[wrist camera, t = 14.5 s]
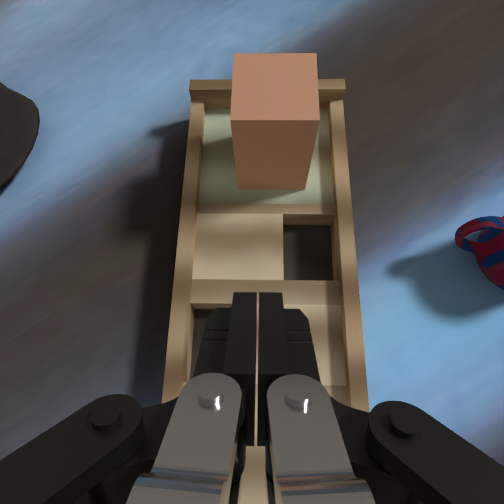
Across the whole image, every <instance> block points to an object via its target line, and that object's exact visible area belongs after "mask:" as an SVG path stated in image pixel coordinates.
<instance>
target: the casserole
mask: <svg viewBox="0 0 504 504" xmlns="http://www.w3.org/2000/svg"><path fill="white" fill-rule="evenodd" d="M39 123H40V119H39V110H38V108H37V107H36V105H35V104H34V102H33V101H32V100H30V99H29V98H27V97H25V96H23V95H21V94H19V93H17V92H15V91H13V90H11V89H8V88H7V87H6V86H5V85H3V84H2V83H1V82H0V187H2V186H3V185H4V184H5V183H6V182H8V181H9V180H10V179H11V178H12V177H13V176H14V175H15V173H16V172H17V171H18V170H19V169H20V168H21V166H22V165H23V164H24V162H25V161H26V159H27V157H28V156H29V154H30V152H31V151H32V149H33V146H34V143H35V141H36V138H37V135H38V129H39Z"/></svg>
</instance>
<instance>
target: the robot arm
mask: <svg viewBox="0 0 504 504" xmlns="http://www.w3.org/2000/svg"><path fill="white" fill-rule="evenodd" d="M256 343H257V292H234V293H233V300H232V307H231V308H215V309H214V310H213V312H212V313H211V314H210V315H209V316H208V317H207V320H206V324H205V328H204V332H203V337H202V341H201V345H200V349H199V354H198V358H197V362H196V366H195V371H194V375H193V378H192V379H191V380H190V381H188V382H187V383H186V384H185V385H184V386H183V388H182V390H181V392H180V394H179V396H178V397H176V398H174V399H173V400H170V401H168V402H165V403H162V404H158V405H154V406H150V407H146V408H142V409H141V406H140V404H139V403H138V401H137V400H136V399H134V398H133V397H130V396H128V395H123V394H113V395H107V396H104V397H101V398H98V399H96V400H94V401H92V402H90V403H89V404H87V405H86V406H84V407H83V408H81V409H79V410H78V411H76V412H75V413H73V414H72V415H70V416H69V417H67V418H65V419H64V420H62V421H61V422H59V423H58V424H56V425H55V426H53V427H52V428H50V429H48V430H47V431H45V432H44V433H42V434H41V435H39V436H38V437H36V438H34V439H33V440H31V441H30V442H28V443H27V444H25V445H24V446H22V447H20V448H19V449H17V450H16V451H14V452H13V453H11V454H10V455H8V456H6V457H5V458H3V459H2V460H0V504H240V497H241V489H242V481H243V471H244V468H245V460H246V446H254V441H255V393H256ZM257 446H265V486H266V498H267V504H504V467H503V466H502V465H501V464H499V463H498V462H496V461H495V460H493V459H492V458H490V457H489V456H488V455H486V454H485V453H483V452H482V451H480V450H479V449H477V448H476V447H475V446H473V445H472V444H470V443H469V442H467V441H466V440H465V439H463V438H462V437H460V436H459V435H457V434H456V433H454V432H453V431H452V430H450V429H449V428H447V427H446V426H444V425H443V424H441V423H440V422H439V421H437V420H436V419H434V418H433V417H431V416H430V415H428V414H427V413H426V412H424V411H423V410H421V409H419V408H418V407H416V406H413V405H411V404H408V403H405V402H401V401H385V402H382V403H379V404H378V405H376V406H375V407H374V408H373V409H372V410H371V412H370V413H369V412H366V411H362V410H359V409H355V408H352V407H349V406H346V405H344V404H342V403H340V402H338V401H336V400H335V399H334V398H332V397H331V396H330V395H329V394H328V391H327V390H326V388H325V387H324V386H323V385H322V384H321V380H320V376H319V371H318V365H317V360H316V355H315V350H314V345H313V340H312V335H311V330H310V325H309V320H308V318H307V317H306V316H305V315H304V313H303V312H302V311H301V310H300V309H284V305H283V295H282V292H259V327H258V406H257Z"/></svg>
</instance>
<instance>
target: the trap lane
mask: <svg viewBox="0 0 504 504" xmlns="http://www.w3.org/2000/svg"><path fill="white" fill-rule="evenodd" d="M189 92H190V96H191V110H190V120H189V130H188V140H187V150H186V161H185V171H184V181H183V191H182V201H181V211H180V221H179V232H178V242H177V252H176V262H175V272H174V282H173V292H172V303H171V313H170V323H169V333H168V343H167V353H166V363H165V374H164V384H163V394H162V403H165V402H168V401H170V400H173V399H174V398H176V397H178V396H179V394H180V392H181V390H182V388H183V386H184V385H185V384H186V383H187V382H188V381H190V380H191V379H192V378H193V375H194V371H195V366H196V362H197V358H198V354H199V349H200V345H201V341H202V337H203V332H204V328H205V324H206V320H207V317H208V316H209V315H210V314H211V313H212V312H213V310H214V309H215V308H231V307H232V300H233V293H234V292H257V343H256V393H255V441H254V446H246V460H245V468H244V471H243V481H242V489H241V497H240V504H267V498H266V486H265V446H257V406H258V327H259V292H282V295H283V305H284V309H300V310H301V311H302V312H303V313H304V315H305V316H306V317H307V318H308V320H309V325H310V330H311V335H312V340H313V345H314V350H315V355H316V360H317V365H318V371H319V376H320V380H321V384H322V385H323V386H324V387H325V388H326V390H327V391H328V394H329V395H330V396H331V397H332V398H334V399H335V400H336V401H338V402H340V403H342V404H344V405H346V406H349V407H352V408H355V409H359V410H362V411H366V412H369V403H368V391H367V380H366V368H365V356H364V344H363V333H362V321H361V309H360V298H359V286H358V274H357V263H356V251H355V239H354V227H353V216H352V204H351V192H350V181H349V169H348V157H347V146H346V134H345V122H344V110H343V96H344V93H345V79H318V93H319V112H320V122H319V127H318V132H317V136H316V141H315V146H314V150H313V155H312V160H311V165H310V169H309V174H308V179H307V183H306V188H305V190H301V189H238V183H237V175H236V166H235V157H234V149H233V140H232V132H231V123H230V114H231V95H232V80H190V85H189Z"/></svg>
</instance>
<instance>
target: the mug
mask: <svg viewBox="0 0 504 504" xmlns="http://www.w3.org/2000/svg"><path fill="white" fill-rule="evenodd" d="M480 230H484V231H483V232H482V233H481V235H480V236H479V238H478V240H477V242H475V241H470V240H467V239H465V238H464V237H466V236H467V235H469V234H471V233H473V232H476V231H480ZM455 242H456V244H457V246H458V247H460V248H461V249H463V250H466V251H469V252H472V253H476V257H477V261H478V263H479V266H480V268H481V269H482V271H483V272H484V274H485V275H486V276H487V277H488V278H489V279H490V280H491V281H492V282H493V283H495V284H496V285H498V286H499V287H501V288H503V289H504V216H503V217H497V216H487V217H480V218H476V219H473V220H471V221H469V222H467V223H465V224H463V225H462V226H461V227H459V228H458V230H457V231H456V234H455Z"/></svg>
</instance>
